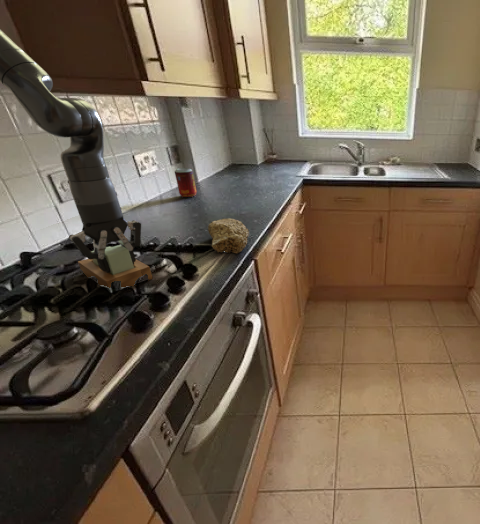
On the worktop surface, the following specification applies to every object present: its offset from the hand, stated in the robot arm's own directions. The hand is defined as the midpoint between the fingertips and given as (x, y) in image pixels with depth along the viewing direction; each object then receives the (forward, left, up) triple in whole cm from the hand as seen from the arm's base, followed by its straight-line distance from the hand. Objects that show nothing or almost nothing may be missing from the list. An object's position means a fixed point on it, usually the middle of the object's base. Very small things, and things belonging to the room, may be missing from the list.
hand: (119, 267), depth 80 cm
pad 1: (0, +7, -4) cm, 8 cm away
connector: (0, +4, -4) cm, 5 cm away
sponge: (+30, +1, -4) cm, 30 cm away
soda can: (+52, +62, -4) cm, 81 cm away
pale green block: (0, 0, -1) cm, 1 cm away
